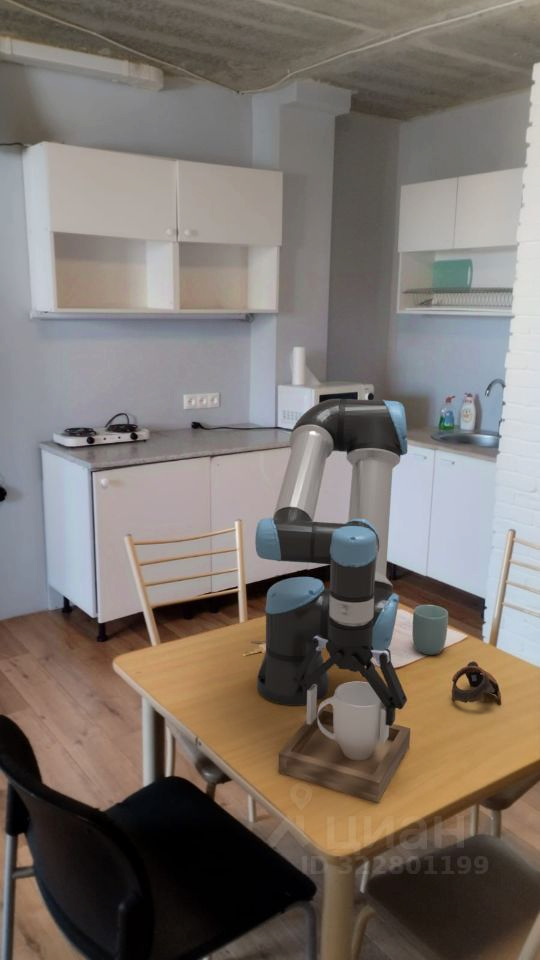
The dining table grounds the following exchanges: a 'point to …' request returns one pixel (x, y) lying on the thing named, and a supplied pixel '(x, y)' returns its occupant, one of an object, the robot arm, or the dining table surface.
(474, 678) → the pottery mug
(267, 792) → the dining table surface
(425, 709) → the dining table surface
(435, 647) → the cup
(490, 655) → the dining table surface
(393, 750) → the tray
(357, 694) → the mug
